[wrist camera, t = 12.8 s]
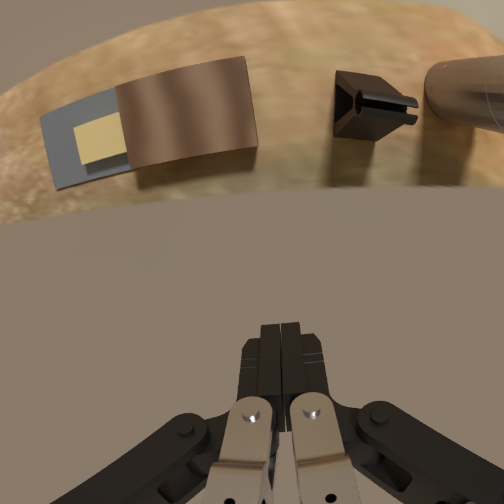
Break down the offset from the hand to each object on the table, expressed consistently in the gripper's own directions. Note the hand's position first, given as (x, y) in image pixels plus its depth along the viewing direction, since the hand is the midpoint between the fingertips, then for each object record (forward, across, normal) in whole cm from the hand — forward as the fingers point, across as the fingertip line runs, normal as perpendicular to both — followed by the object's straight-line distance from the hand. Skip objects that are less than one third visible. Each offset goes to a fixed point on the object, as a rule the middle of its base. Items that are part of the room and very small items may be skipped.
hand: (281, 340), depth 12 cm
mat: (+31, +25, -9) cm, 41 cm away
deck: (+32, +10, -9) cm, 34 cm away
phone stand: (+32, -12, -8) cm, 35 cm away
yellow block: (+31, +22, -9) cm, 39 cm away
